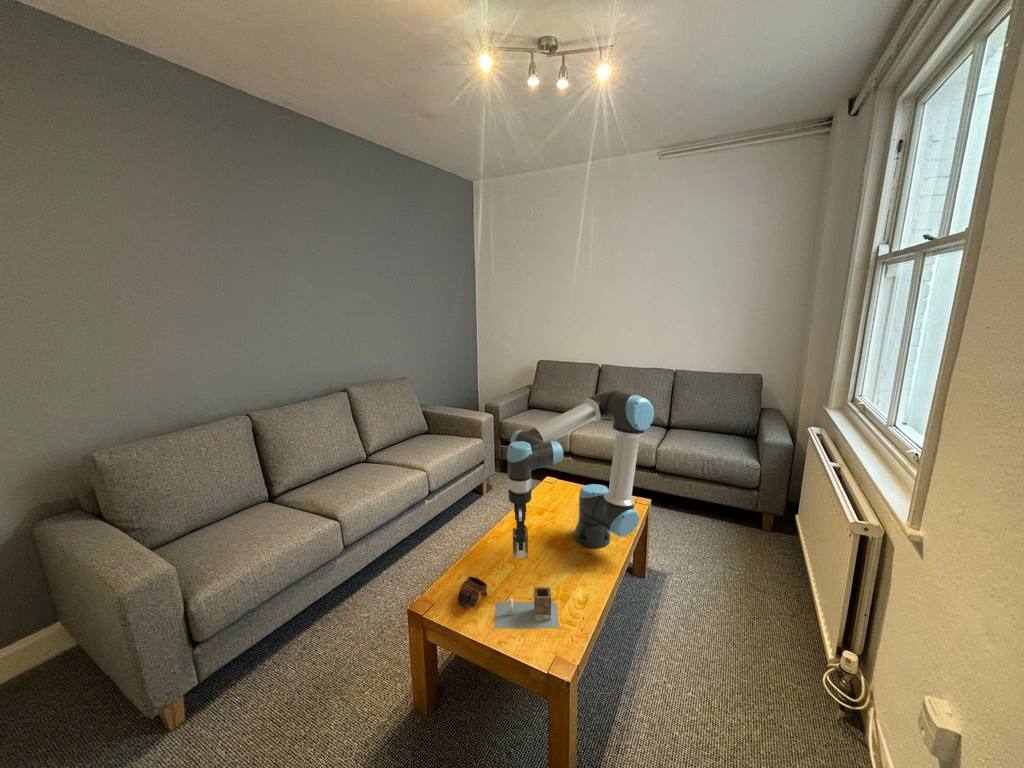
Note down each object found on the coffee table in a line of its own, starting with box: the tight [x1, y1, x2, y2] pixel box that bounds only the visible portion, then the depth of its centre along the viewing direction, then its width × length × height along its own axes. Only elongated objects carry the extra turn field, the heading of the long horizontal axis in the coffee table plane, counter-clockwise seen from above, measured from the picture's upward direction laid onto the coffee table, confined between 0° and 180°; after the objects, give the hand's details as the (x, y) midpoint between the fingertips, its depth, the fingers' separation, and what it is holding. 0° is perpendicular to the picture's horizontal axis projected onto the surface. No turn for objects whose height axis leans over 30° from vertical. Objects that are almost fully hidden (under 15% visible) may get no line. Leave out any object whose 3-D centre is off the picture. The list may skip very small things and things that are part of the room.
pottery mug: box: [456, 576, 488, 609], centre depth 140 cm, size 12×10×8 cm
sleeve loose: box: [512, 527, 529, 559], centre depth 141 cm, size 5×5×8 cm
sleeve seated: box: [533, 586, 552, 621], centre depth 132 cm, size 5×5×8 cm
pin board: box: [493, 597, 561, 629], centre depth 132 cm, size 20×11×7 cm, turn 90°
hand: (520, 551), depth 142 cm, fingers closed on sleeve loose, 5 cm apart
